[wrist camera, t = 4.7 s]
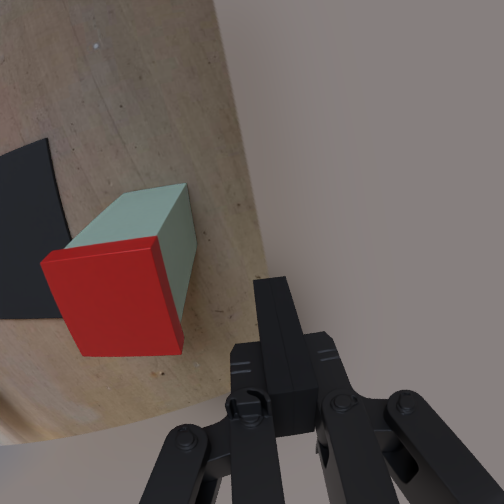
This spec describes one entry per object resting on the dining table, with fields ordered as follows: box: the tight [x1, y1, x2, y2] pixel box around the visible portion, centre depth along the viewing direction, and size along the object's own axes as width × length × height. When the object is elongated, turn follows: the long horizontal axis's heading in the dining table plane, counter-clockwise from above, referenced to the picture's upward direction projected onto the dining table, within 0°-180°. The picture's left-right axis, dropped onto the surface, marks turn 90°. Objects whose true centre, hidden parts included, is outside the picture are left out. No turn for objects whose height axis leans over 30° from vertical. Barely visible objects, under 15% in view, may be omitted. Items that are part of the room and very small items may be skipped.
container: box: [40, 183, 197, 357], centre depth 21 cm, size 7×7×14 cm
